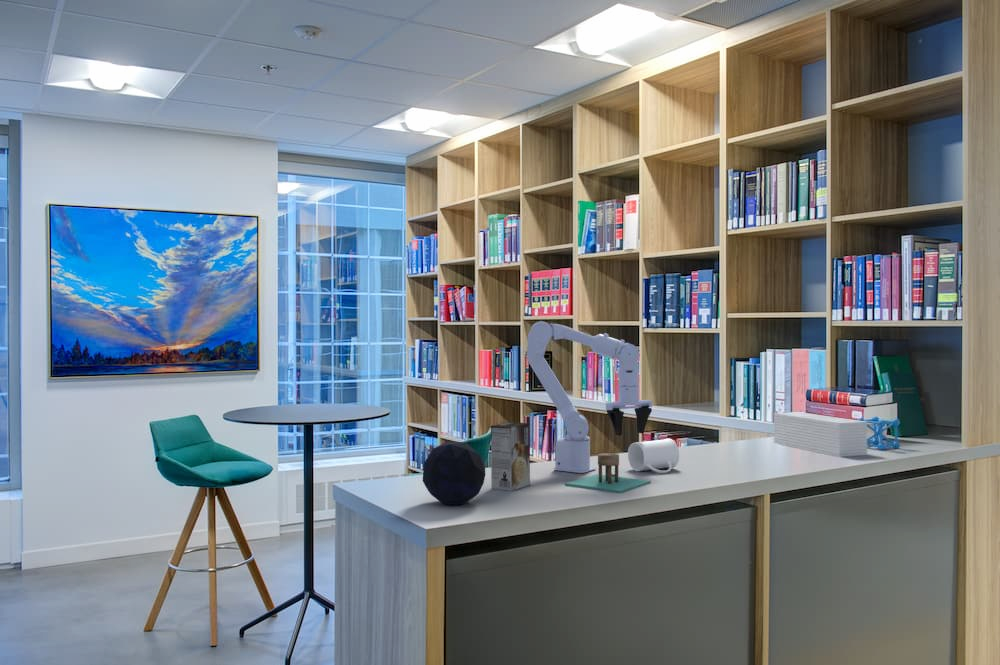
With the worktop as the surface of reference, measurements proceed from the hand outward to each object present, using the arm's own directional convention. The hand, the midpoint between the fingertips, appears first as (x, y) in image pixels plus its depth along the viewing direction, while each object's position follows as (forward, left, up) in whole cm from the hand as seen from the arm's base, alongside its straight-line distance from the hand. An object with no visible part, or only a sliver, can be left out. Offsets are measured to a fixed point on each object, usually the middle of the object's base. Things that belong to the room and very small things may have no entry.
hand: (629, 434), depth 223 cm
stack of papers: (+30, +75, -11) cm, 81 cm away
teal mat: (+5, -20, -10) cm, 23 cm away
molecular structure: (+46, +89, -11) cm, 100 cm away
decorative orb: (-12, -61, -11) cm, 63 cm away
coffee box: (-13, -38, -11) cm, 42 cm away
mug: (+8, +11, -7) cm, 16 cm away
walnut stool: (+5, -20, -10) cm, 23 cm away
